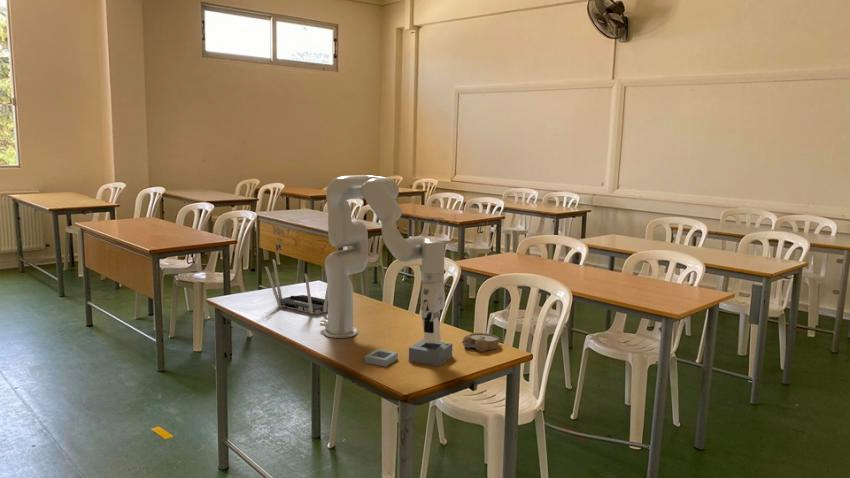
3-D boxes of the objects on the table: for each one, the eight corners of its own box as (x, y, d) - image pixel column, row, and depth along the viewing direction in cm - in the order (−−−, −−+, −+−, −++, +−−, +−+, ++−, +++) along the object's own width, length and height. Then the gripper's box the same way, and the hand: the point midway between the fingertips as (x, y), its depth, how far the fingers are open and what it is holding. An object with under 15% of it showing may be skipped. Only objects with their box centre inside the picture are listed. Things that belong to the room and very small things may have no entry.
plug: (425, 343, 211) (421, 313, 210) (430, 339, 214) (426, 311, 213) (435, 343, 209) (432, 313, 208) (440, 339, 213) (437, 310, 212)
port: (408, 360, 211) (409, 346, 210) (423, 351, 220) (423, 337, 220) (438, 366, 206) (439, 352, 205) (452, 356, 216) (452, 342, 215)
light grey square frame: (364, 362, 208) (364, 356, 208) (376, 355, 215) (377, 349, 215) (385, 366, 205) (385, 360, 204) (397, 359, 212) (397, 352, 211)
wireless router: (352, 309, 271) (352, 264, 268) (316, 322, 252) (315, 273, 248) (294, 297, 289) (294, 254, 285) (256, 308, 269) (255, 262, 266)
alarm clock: (505, 338, 228) (482, 340, 216) (503, 351, 228) (480, 354, 216) (480, 331, 235) (456, 333, 224) (478, 344, 235) (454, 347, 224)
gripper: (432, 283, 200) (431, 339, 202) (453, 273, 214) (451, 325, 217) (411, 281, 203) (410, 335, 206) (433, 271, 218) (432, 322, 220)
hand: (431, 330), depth 211 cm, fingers closed on plug, 4 cm apart
